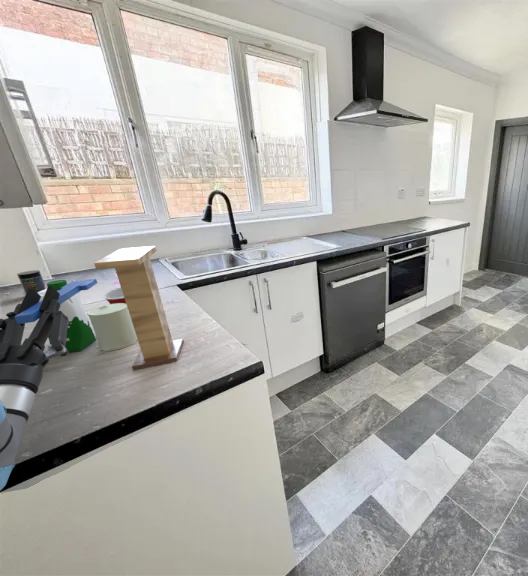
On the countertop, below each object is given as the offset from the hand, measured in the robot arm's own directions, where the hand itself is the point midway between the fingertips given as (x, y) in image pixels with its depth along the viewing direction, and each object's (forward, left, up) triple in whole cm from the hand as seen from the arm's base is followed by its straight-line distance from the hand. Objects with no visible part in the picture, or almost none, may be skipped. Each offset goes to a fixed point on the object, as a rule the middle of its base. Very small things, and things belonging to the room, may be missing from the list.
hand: (44, 291), depth 65 cm
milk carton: (-2, +30, -25) cm, 39 cm away
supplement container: (-14, +107, -25) cm, 111 cm away
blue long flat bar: (+1, +4, -4) cm, 6 cm away
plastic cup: (+13, +39, -25) cm, 48 cm away
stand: (+16, +4, -25) cm, 30 cm away
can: (+8, +23, -25) cm, 35 cm away
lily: (+17, +84, -25) cm, 89 cm away
